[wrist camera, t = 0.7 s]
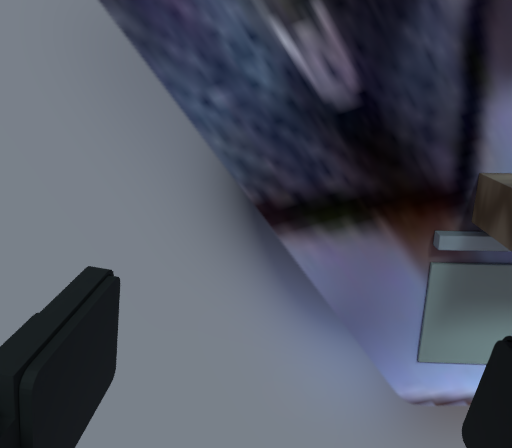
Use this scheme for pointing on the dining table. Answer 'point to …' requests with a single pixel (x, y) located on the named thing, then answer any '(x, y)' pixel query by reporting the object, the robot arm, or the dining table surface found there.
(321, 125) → the dining table surface
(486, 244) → the rail
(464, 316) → the mat
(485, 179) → the block
